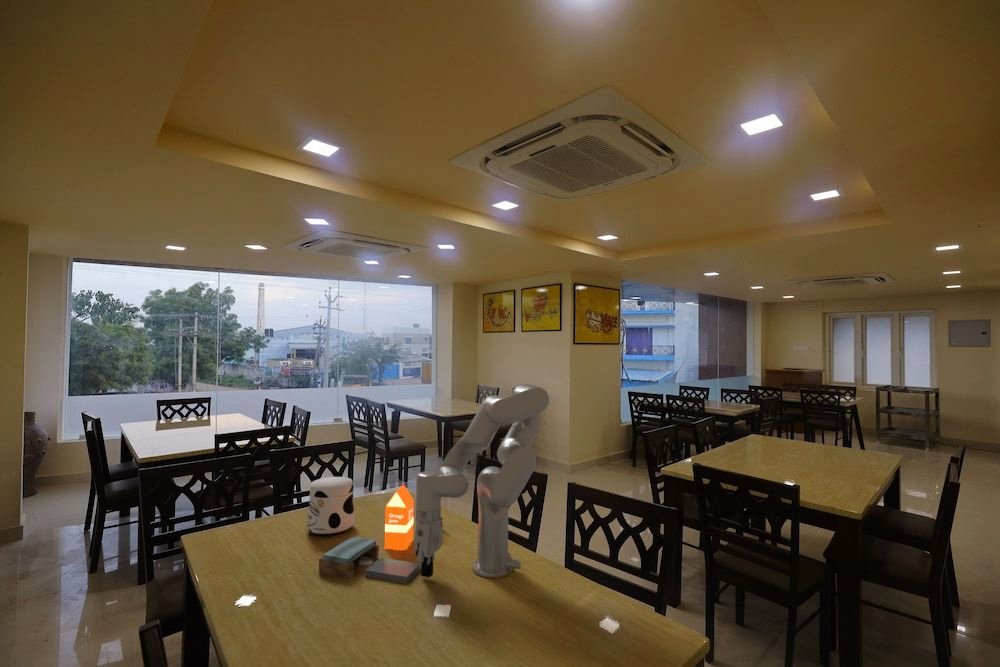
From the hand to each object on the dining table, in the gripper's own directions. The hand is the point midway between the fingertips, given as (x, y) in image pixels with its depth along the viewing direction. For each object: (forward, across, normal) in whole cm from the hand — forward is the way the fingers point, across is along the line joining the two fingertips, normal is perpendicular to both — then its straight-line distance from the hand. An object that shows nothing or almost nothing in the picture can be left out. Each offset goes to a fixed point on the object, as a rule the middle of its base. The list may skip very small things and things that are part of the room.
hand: (426, 575), depth 143 cm
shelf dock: (+1, 0, +27) cm, 27 cm away
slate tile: (+2, 0, +12) cm, 12 cm away
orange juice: (+1, +19, +20) cm, 28 cm away
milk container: (+2, +22, +52) cm, 56 cm away
